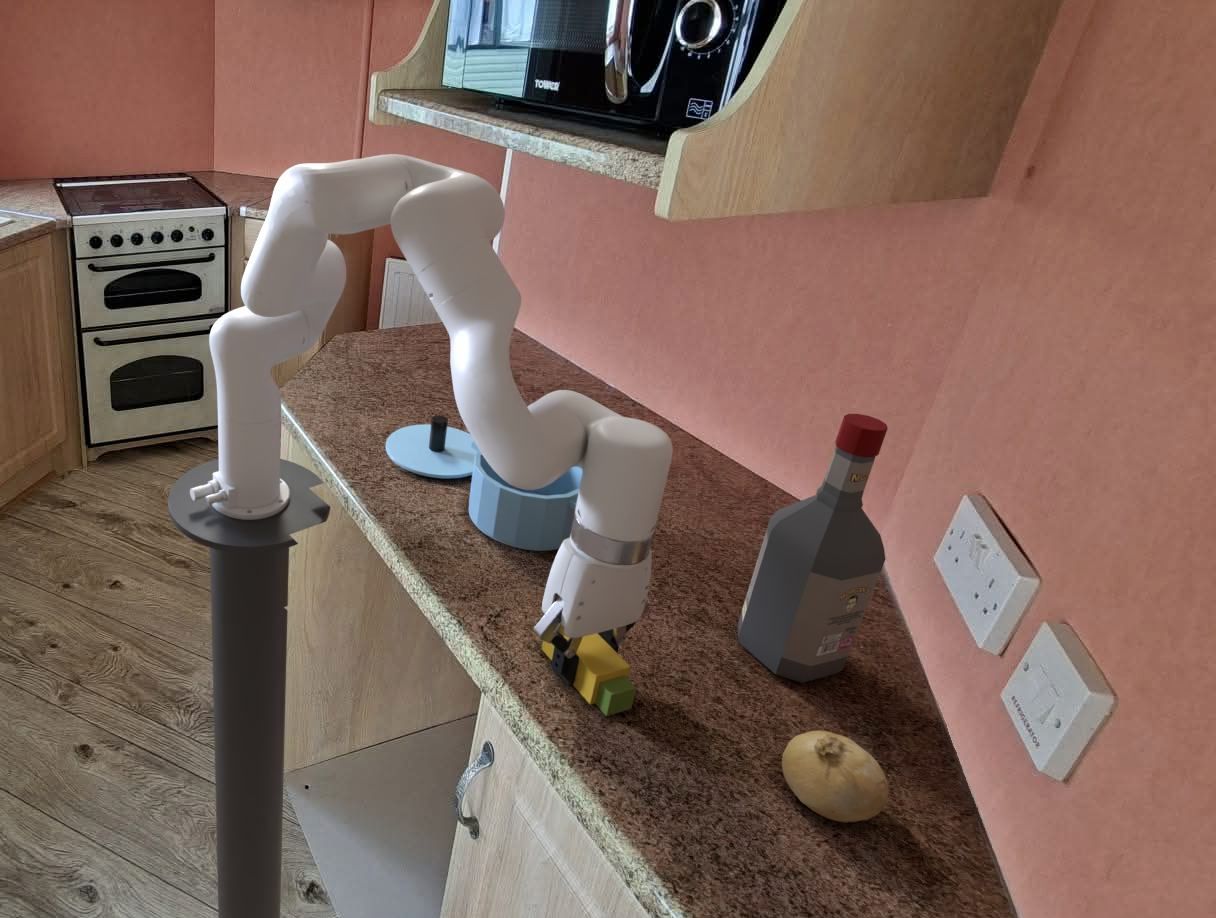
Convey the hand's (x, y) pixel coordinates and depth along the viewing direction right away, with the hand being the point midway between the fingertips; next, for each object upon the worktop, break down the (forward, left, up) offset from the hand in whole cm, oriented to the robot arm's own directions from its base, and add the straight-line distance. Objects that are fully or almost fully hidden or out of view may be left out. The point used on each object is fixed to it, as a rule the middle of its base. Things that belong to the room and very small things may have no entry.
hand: (581, 668), depth 88 cm
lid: (+18, +44, 0) cm, 48 cm away
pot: (+17, +24, 0) cm, 29 cm away
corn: (0, 0, 0) cm, 0 cm away
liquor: (+23, -10, -1) cm, 25 cm away
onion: (+7, -22, -1) cm, 23 cm away
